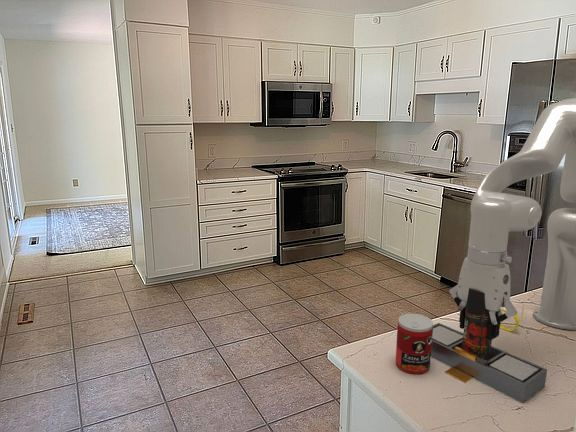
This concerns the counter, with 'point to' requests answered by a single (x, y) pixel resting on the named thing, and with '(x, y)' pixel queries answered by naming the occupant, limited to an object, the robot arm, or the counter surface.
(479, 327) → the deodorant
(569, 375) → the counter surface
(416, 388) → the counter surface
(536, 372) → the rack
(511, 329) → the watch
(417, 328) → the canned food
